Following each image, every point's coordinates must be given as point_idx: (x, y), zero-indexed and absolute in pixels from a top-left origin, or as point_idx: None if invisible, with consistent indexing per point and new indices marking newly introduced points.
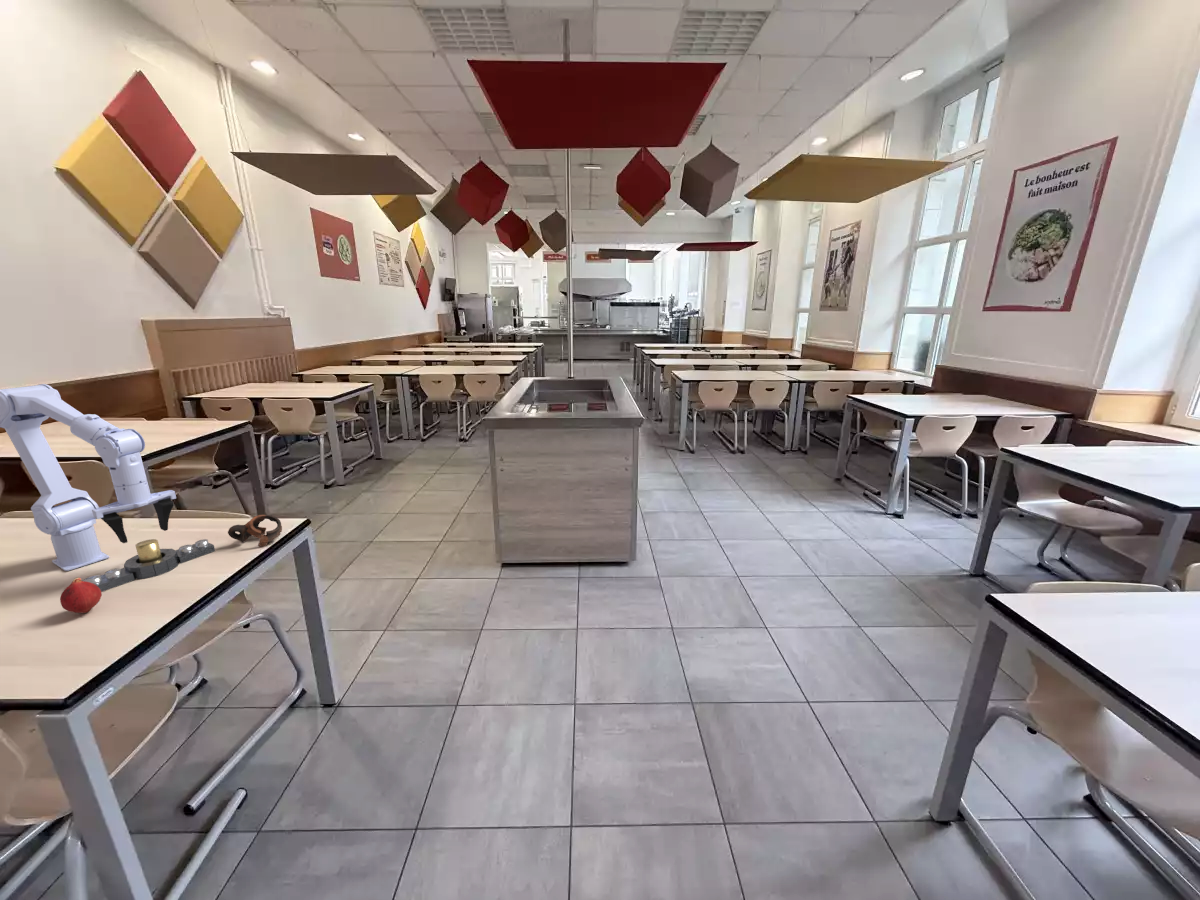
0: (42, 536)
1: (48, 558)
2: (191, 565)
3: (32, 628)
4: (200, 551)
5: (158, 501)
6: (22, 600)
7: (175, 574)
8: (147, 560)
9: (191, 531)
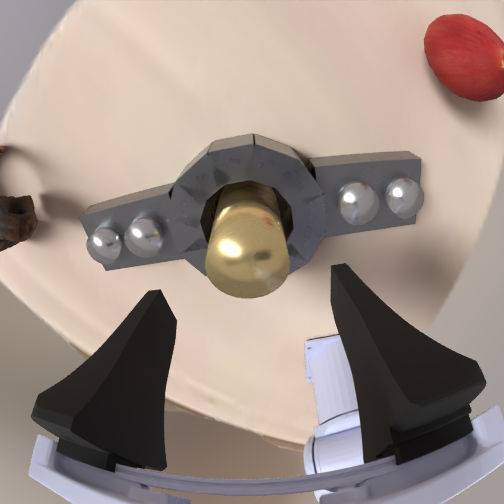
0: None
1: None
2: (150, 139)
3: None
4: (113, 204)
5: (113, 468)
6: (460, 252)
7: (202, 98)
8: (262, 198)
9: None
